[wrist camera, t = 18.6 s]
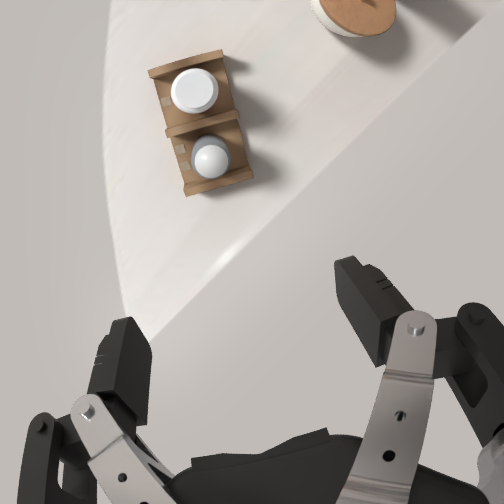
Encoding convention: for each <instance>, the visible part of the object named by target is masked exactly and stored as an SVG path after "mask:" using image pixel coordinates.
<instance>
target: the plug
mask: <svg viewBox="0 0 504 504" xmlns="http://www.w3.org/2000/svg"><path fill="white" fill-rule="evenodd" d="M191 164H192V167H193V169H194V171H195V172H196V173H197V174H198V175H199V176H201V177H203V178H206V179H215V178H218V177H221V176H222V175H224V174H225V173H226V172H227V170H228V169H229V167H230V164H231V155H230V152H229V150H228V148H227V146H226V144H225V142H224V141H223V139H222V138H221V137H220V136H218V135H216V134H213V133H207V134H203V135H201V136H200V137H198V138H197V139H196V141H195V142H194V144H193V149H192V157H191Z"/></svg>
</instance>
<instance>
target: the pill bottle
mask: <svg viewBox="0 0 504 504" xmlns="http://www.w3.org/2000/svg"><path fill="white" fill-rule="evenodd" d="M217 96H218V83H217V81H216V79H215V78H214V76H213V75H212V74H211V73H209V72H208V71H206V70H203V69H196V68H195V69H189V70H186V71H184V72H182V73H180V74H179V75H178V76H177V77H176V79H175V80H174V82H173V84H172V88H171V97H172V100H173V102H174V104H175V105H176V106H177V107H178V108H179V109H180V110H182V111H184V112H186V113H192V114H195V113H201V112H204V111H206V110H207V109H209V108H210V107H211V106H212V105H213V104H214V103H215V101H216V99H217Z"/></svg>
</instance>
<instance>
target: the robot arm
mask: <svg viewBox="0 0 504 504" xmlns="http://www.w3.org/2000/svg"><path fill="white" fill-rule="evenodd" d="M334 269H335V281H336V293H337V298H338V301H339V304H340V306H341V308H342V310H343V311H344V313H345V315H346V317H347V318H348V320H349V322H350V323H351V325H352V327H353V329H354V330H355V332H356V334H357V335H358V337H359V339H360V341H361V342H362V344H363V346H364V348H365V349H366V351H367V353H368V355H369V356H370V358H371V360H372V362H373V363H374V365H375V367H379V366H381V365H384V364H385V365H386V369H385V372H384V373H383V377H382V380H381V383H380V387H379V391H378V394H377V397H376V401H375V404H374V407H373V410H372V414H371V417H370V420H369V423H368V426H367V429H366V432H365V435H364V438H361V437H357V436H351V435H329V433H328V430H327V428H323V429H320V430H317V431H314V432H310V433H307V434H304V435H301V436H297V437H293V438H291V439H289V440H287V441H286V442H283V443H282V444H280V445H278V446H276V447H274V448H272V449H269V450H267V451H265V452H263V453H261V454H227V453H226V454H225V453H222V454H216V455H209V456H203V457H196V458H191V464H192V467H190V468H187V469H185V470H183V471H182V472H180V473H179V474H177V475H176V476H175V475H174V474H172V473H171V472H170V471H169V470H168V469H167V468H166V467H165V466H164V465H163V464H162V463H161V462H160V461H159V459H157V457H156V456H155V455H154V454H153V452H152V451H151V450H150V449H149V448H148V446H147V445H146V444H145V443H144V442H143V440H142V439H141V438H140V437H139V435H138V434H136V426H142V425H147V414H148V399H149V386H150V374H151V363H152V352H151V348H150V345H149V343H148V341H147V340H146V338H145V336H144V335H143V333H142V332H141V330H140V328H139V327H138V325H137V323H136V322H135V320H134V319H133V318H132V317H126V318H122V319H118V320H114V321H113V322H112V326H111V329H110V333H109V335H106V336H105V337H104V339H103V340H102V342H101V343H100V345H99V347H98V351H97V357H96V358H95V362H94V364H95V366H93V370H92V374H91V379H90V382H89V387H88V392H87V395H84V396H82V397H80V398H79V399H78V400H77V401H76V402H75V403H74V405H73V407H72V409H71V414H69V415H66V416H63V417H61V418H58V419H55V418H54V417H53V416H51V415H50V414H49V413H46V412H43V413H40V414H38V415H37V416H35V417H34V418H33V420H32V421H31V423H30V425H29V429H28V433H27V438H26V443H25V448H24V454H23V459H22V465H21V473H20V479H19V487H18V497H17V504H97V481H98V482H99V484H100V486H101V487H102V489H103V490H104V492H105V494H106V495H107V496H108V498H109V499H110V501H111V503H112V504H504V326H503V325H502V323H501V322H500V321H499V320H498V319H497V318H496V316H495V315H494V314H493V313H492V312H491V310H490V309H489V308H487V307H486V306H484V305H482V304H480V303H474V302H473V303H467V304H465V305H463V306H462V307H461V308H460V309H459V311H458V314H457V317H450V318H444V319H434V318H433V317H432V316H431V315H429V314H428V313H426V312H423V311H418V310H414V309H413V308H412V307H411V305H410V304H409V303H408V302H407V300H406V299H405V298H404V297H403V296H402V294H401V293H400V292H399V291H398V290H397V289H396V287H395V286H393V284H392V283H391V282H390V280H388V279H387V277H386V276H385V275H384V274H383V272H382V271H381V270H380V269H378V268H376V267H374V266H372V265H370V264H368V265H365V266H362V264H361V263H360V262H359V261H358V260H357V258H356V257H355V256H350V257H346V258H343V259H340V260H336V261H335V263H334ZM443 377H445V379H446V381H447V382H448V384H449V386H450V387H451V389H452V391H453V393H454V394H455V396H456V398H457V400H458V402H459V403H460V405H461V407H462V409H463V411H464V413H465V414H466V416H467V418H468V420H469V422H470V424H471V426H472V428H473V430H474V432H475V433H476V435H477V437H478V439H479V441H480V444H481V446H482V447H483V449H482V450H481V452H480V454H479V456H478V462H477V465H478V470H479V476H480V478H479V483H478V486H477V487H475V486H473V485H471V484H468V483H466V482H463V481H460V480H457V479H455V478H452V477H450V476H447V475H445V474H442V473H440V472H437V471H435V470H432V469H430V468H427V467H425V466H423V465H420V464H418V461H419V457H420V454H421V450H422V446H423V441H424V437H425V432H426V428H427V423H428V418H429V413H430V407H431V401H432V394H433V389H434V379H437V378H443ZM59 460H60V461H61V462H63V463H64V471H63V483H62V489H61V488H60V486H59V484H58V467H59Z"/></svg>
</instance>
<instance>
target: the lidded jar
mask: <svg viewBox="0 0 504 504" xmlns="http://www.w3.org/2000/svg"><path fill="white" fill-rule="evenodd" d="M310 3H311V8H312V11H313V13H314V15H315V16H316V18H317V19H318V20H319V22H320V23H321V24H322V25H324V26H325V27H326V28H327V29H329V30H331V31H333V32H335V33H337V34H339V35H343V36H348V37H365V36H375V35H379V34H381V33H384V32H385V31H387V30H388V29H389V28H390V27H391V26H392V24H393V22H394V20H395V17H396V3H395V0H310Z"/></svg>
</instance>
